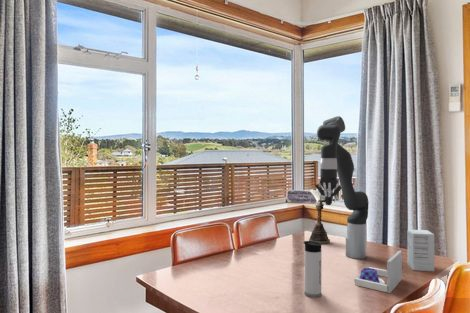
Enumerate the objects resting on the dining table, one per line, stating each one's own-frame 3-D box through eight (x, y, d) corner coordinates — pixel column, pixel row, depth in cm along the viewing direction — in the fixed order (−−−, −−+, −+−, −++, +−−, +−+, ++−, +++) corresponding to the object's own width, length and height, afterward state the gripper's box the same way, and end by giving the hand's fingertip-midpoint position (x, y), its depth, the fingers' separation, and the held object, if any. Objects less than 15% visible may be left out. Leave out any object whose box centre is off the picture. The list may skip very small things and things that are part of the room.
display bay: (354, 284, 143) (354, 255, 143) (368, 272, 158) (369, 245, 158) (390, 293, 135) (390, 261, 135) (401, 279, 150) (401, 250, 149)
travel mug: (301, 291, 137) (301, 239, 137) (318, 290, 138) (318, 239, 137) (306, 297, 131) (306, 243, 131) (323, 297, 131) (323, 243, 131)
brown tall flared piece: (340, 245, 203) (340, 184, 202) (319, 247, 199) (319, 185, 199) (325, 238, 219) (325, 182, 218) (306, 239, 215) (306, 182, 215)
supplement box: (435, 271, 158) (435, 234, 158) (412, 270, 160) (412, 233, 160) (427, 265, 168) (428, 229, 167) (406, 263, 170) (407, 228, 169)
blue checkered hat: (348, 278, 151) (348, 266, 151) (371, 275, 154) (371, 263, 154) (366, 289, 139) (366, 276, 139) (391, 285, 143) (391, 273, 143)
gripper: (312, 167, 166) (312, 204, 167) (339, 168, 158) (339, 207, 159) (318, 167, 172) (318, 202, 173) (345, 168, 164) (345, 205, 165)
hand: (328, 204), depth 166 cm, fingers closed
